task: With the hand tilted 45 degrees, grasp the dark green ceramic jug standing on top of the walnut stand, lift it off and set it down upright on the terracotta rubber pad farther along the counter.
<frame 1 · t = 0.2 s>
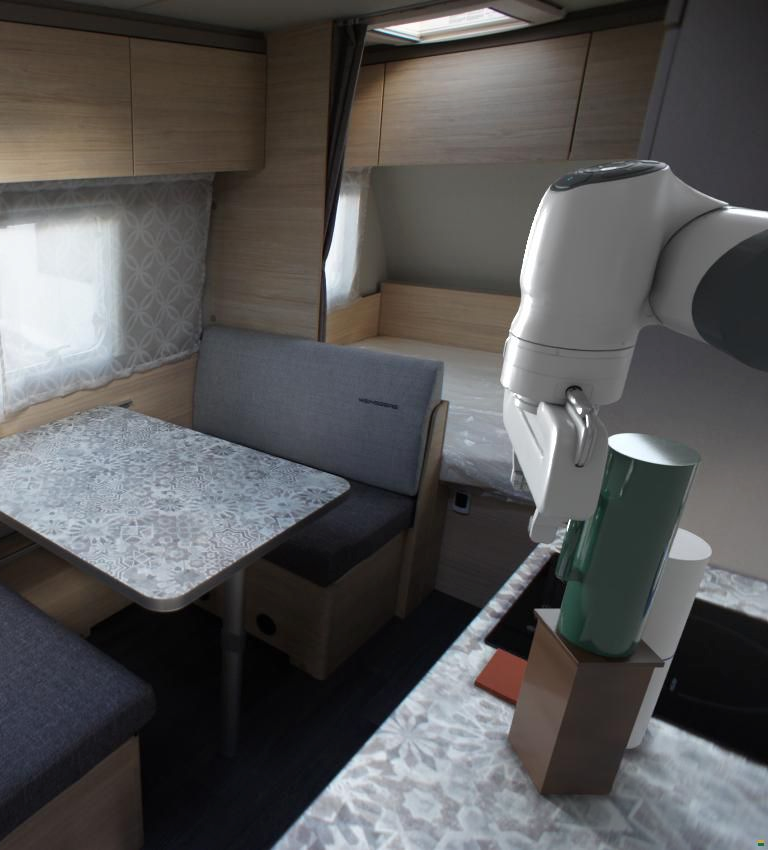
hand: (529, 512, 62), 31 cm above the counter, tool pointing down, fingers open, 8 cm apart
cylindrical container: (603, 725, 77), on the counter
pad: (516, 683, 83), on the counter
jug: (596, 634, 65), point 18 cm above the counter, touching stand
stand: (555, 766, 72), on the counter
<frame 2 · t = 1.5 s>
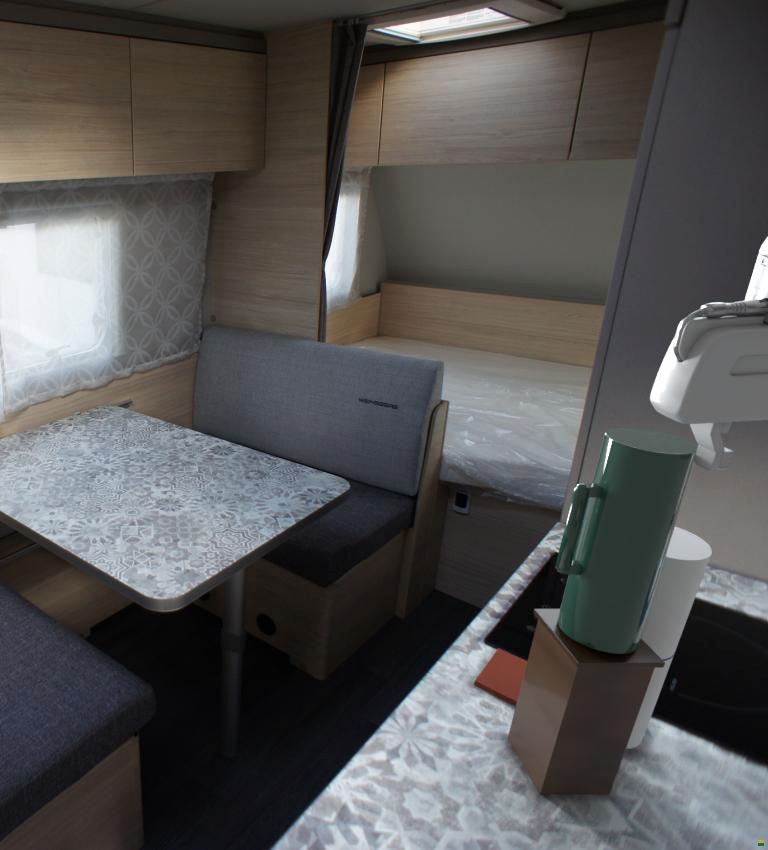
hand: (767, 463, 55), 38 cm above the counter, tool pointing down, fingers open, 8 cm apart
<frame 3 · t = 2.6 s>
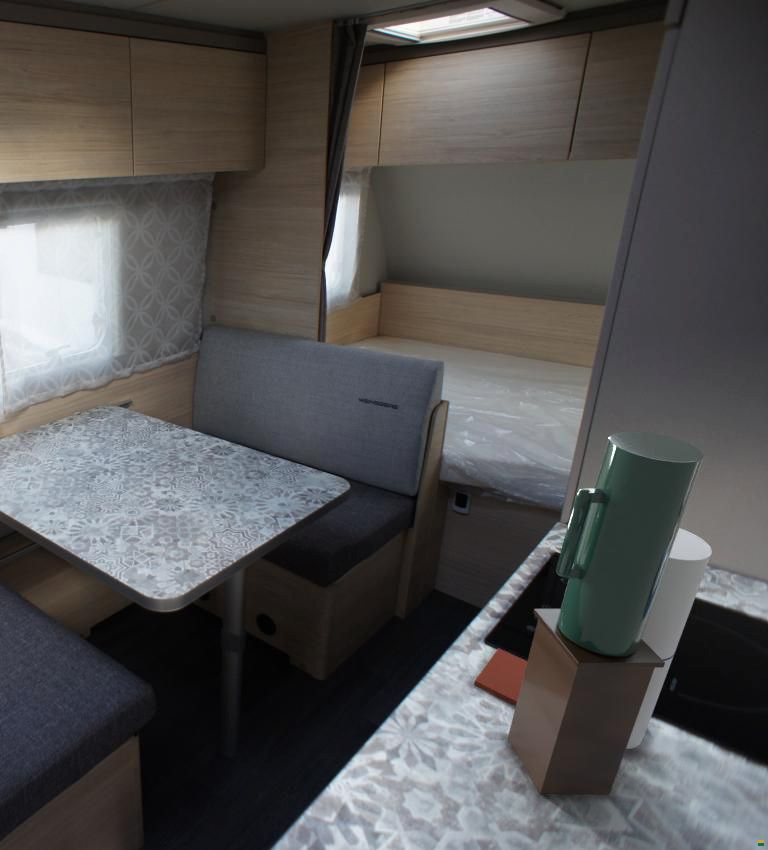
nothing on the counter moved.
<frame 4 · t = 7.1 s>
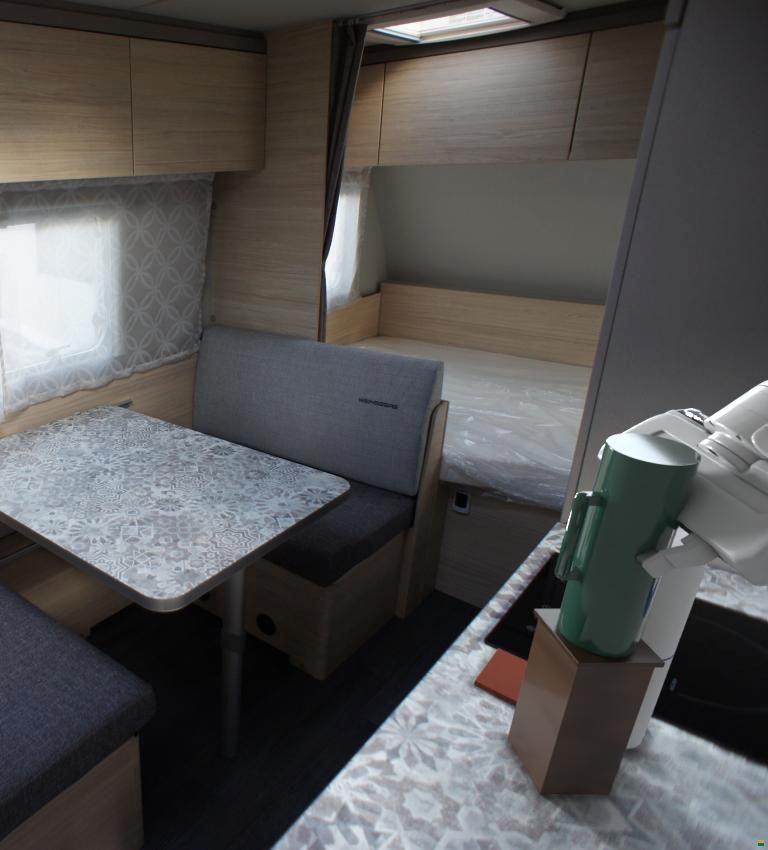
hand: (616, 543, 61), 28 cm above the counter, tool tilted 45°, fingers closed on jug, 6 cm apart
jug: (596, 633, 65), point 18 cm above the counter, touching gripper, stand
everything else where it was.
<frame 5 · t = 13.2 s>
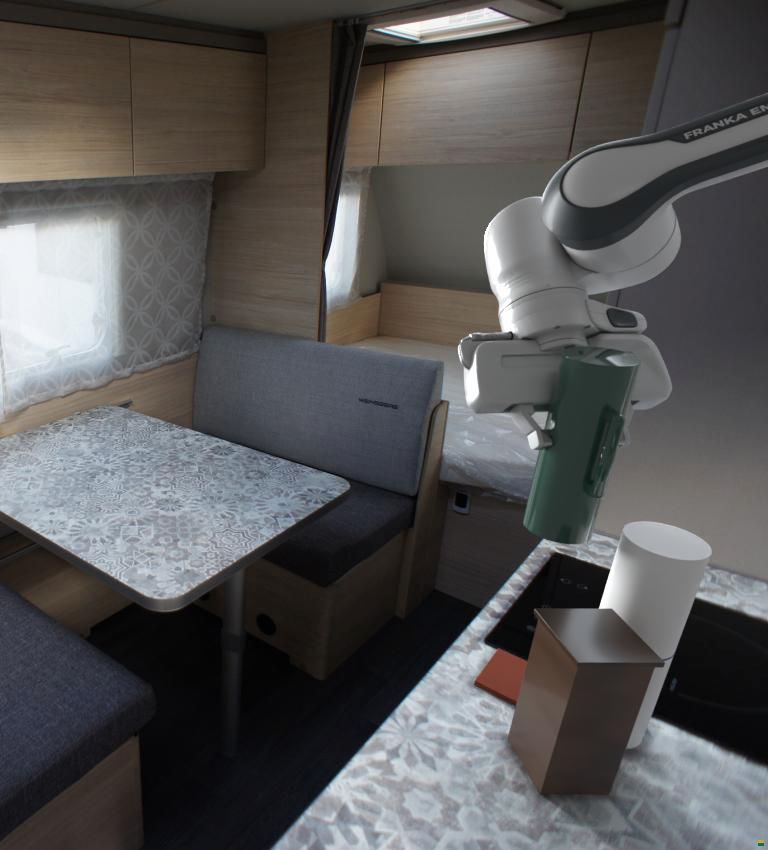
hand: (581, 447, 70), 33 cm above the counter, tool tilted 45°, fingers closed on jug, 6 cm apart
jug: (556, 528, 74), point 23 cm above the counter, touching gripper
everything else where it was.
when the fingers open (11 cm above the counter, at t = 19.4 s): jug stays where it is, resting on pad.
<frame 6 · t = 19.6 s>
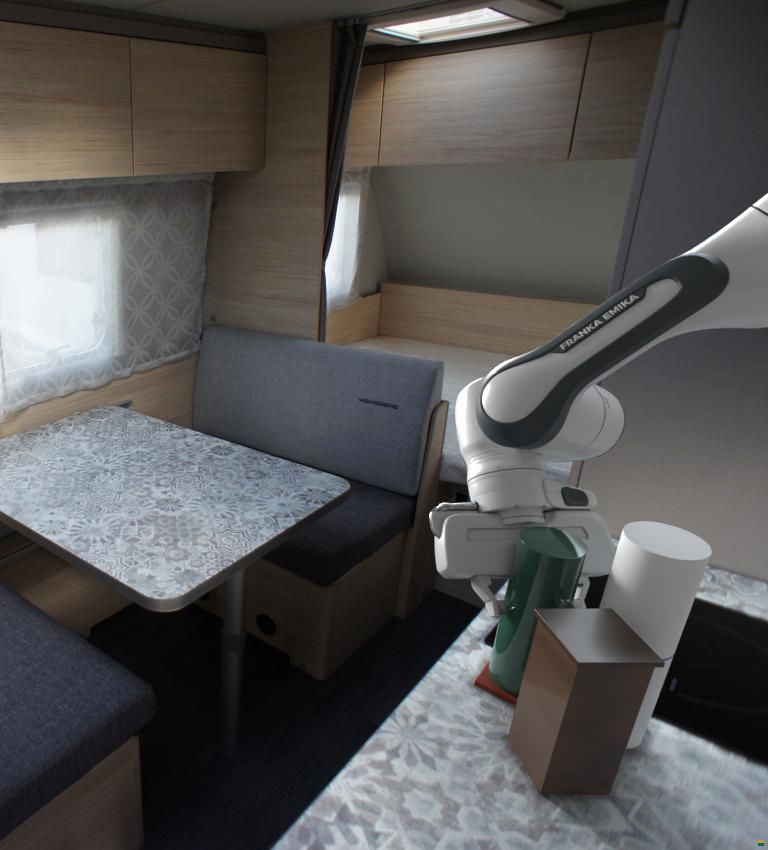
hand: (537, 616, 78), 11 cm above the counter, tool tilted 45°, fingers open, 8 cm apart
jug: (517, 678, 83), point 1 cm above the counter, touching pad
everything else where it was.
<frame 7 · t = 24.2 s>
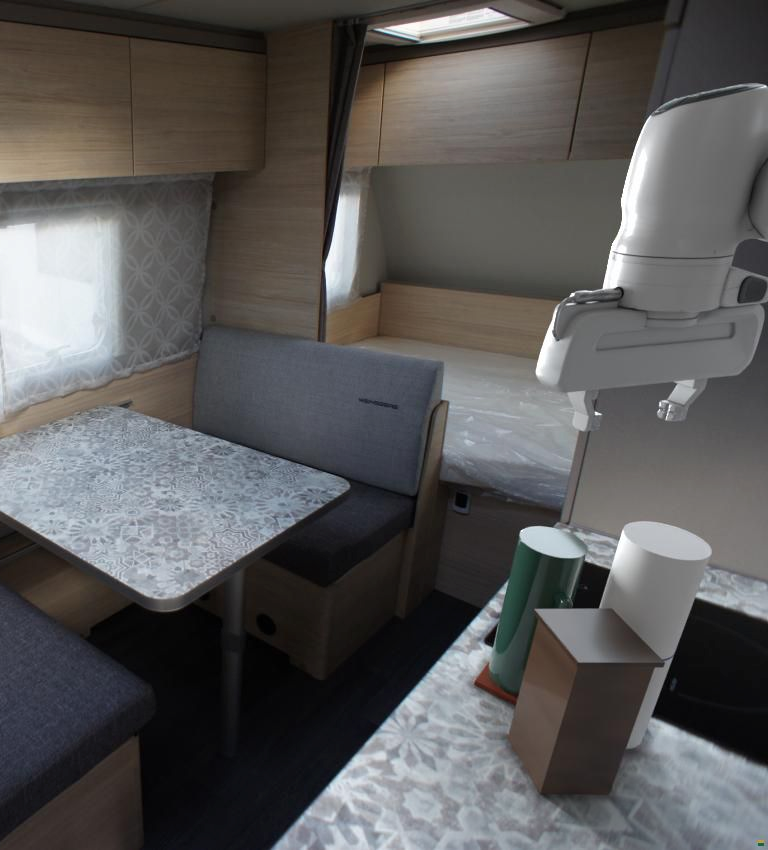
hand: (628, 424, 66), 36 cm above the counter, tool pointing down, fingers open, 8 cm apart
nothing on the counter moved.
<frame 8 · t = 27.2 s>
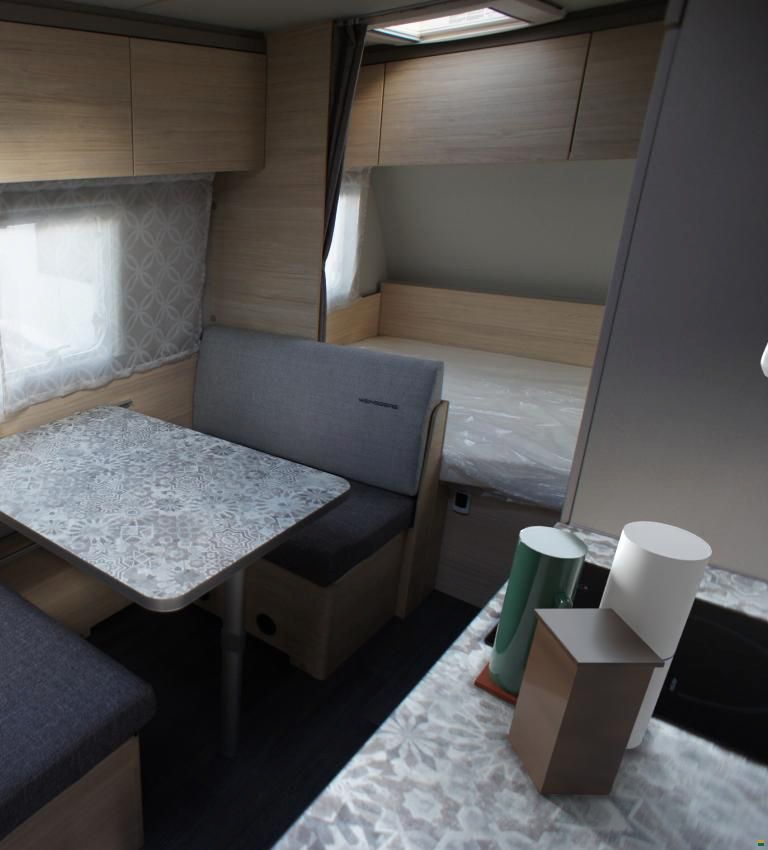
nothing on the counter moved.
at the end: jug 0.1 cm off-centre on the pad, point 0.8 cm above the pad's base; jug tilted 0°; the gripper is holding nothing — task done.
